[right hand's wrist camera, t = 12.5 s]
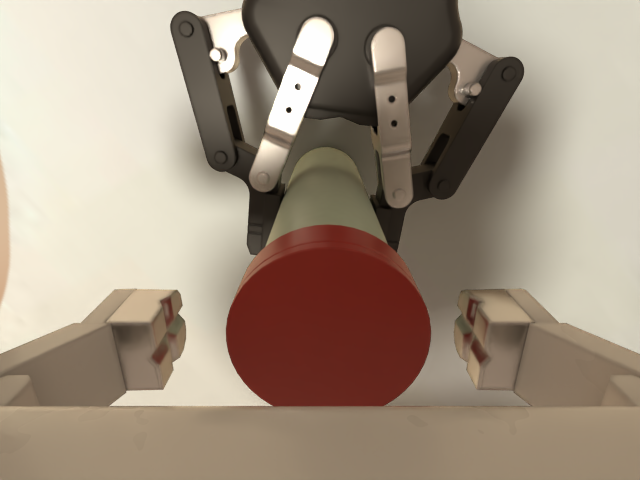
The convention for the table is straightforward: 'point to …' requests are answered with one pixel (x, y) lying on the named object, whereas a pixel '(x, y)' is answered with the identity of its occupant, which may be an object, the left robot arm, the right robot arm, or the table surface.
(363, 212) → the olive green cylinder
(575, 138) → the table surface
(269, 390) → the lid
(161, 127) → the table surface
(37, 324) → the table surface
